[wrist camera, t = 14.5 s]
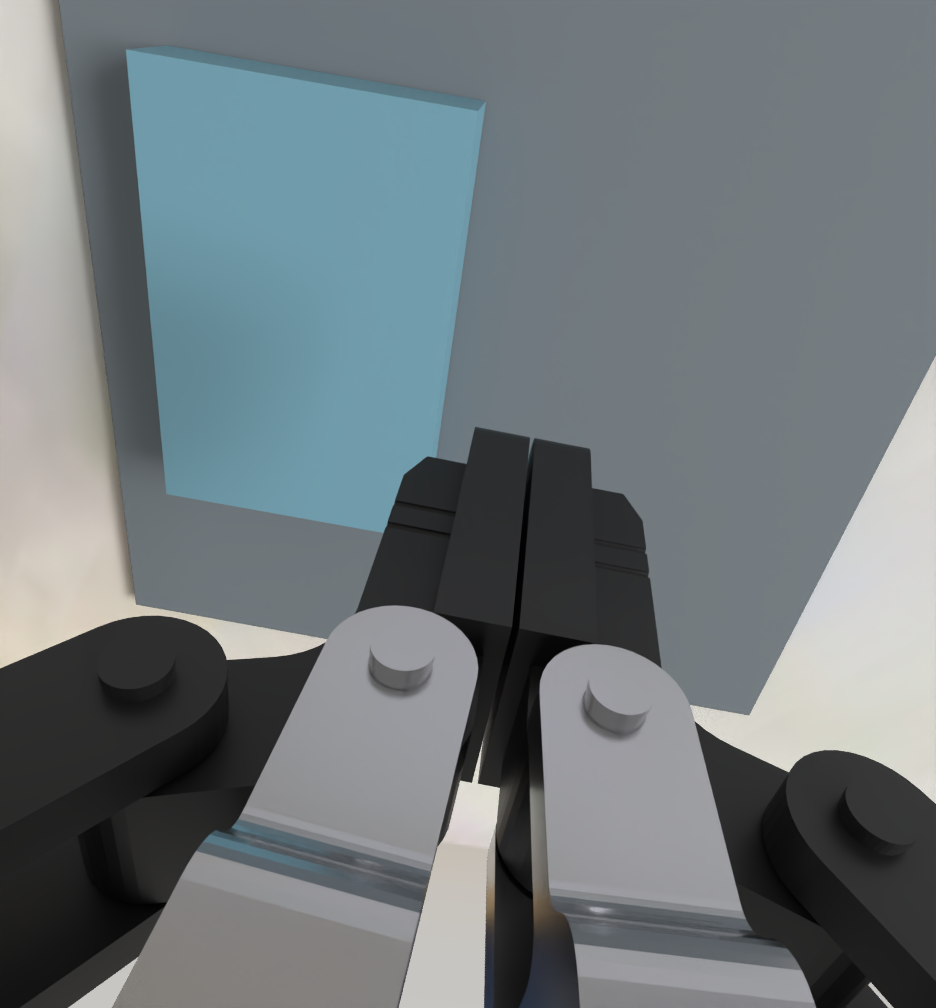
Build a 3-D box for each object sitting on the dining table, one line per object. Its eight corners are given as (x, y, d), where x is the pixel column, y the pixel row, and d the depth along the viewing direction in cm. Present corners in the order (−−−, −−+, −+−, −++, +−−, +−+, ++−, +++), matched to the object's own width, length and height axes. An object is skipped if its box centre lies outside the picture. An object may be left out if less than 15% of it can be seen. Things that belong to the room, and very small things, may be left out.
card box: (486, 100, 14) (168, 45, 14) (478, 110, 13) (125, 49, 13) (430, 500, 19) (195, 458, 19) (420, 539, 18) (166, 494, 18)
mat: (20, -414, 11) (4, -426, 11) (1211, -208, 11) (1230, -215, 11) (142, 595, 23) (136, 604, 22) (746, 704, 22) (749, 715, 22)
